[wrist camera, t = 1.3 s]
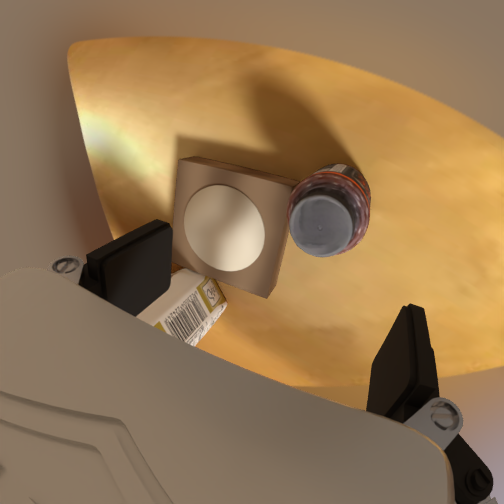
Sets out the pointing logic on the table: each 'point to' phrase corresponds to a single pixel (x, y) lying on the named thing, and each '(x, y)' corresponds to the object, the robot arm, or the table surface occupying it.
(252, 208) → the walnut stand
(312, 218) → the supplement bottle
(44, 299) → the robot arm
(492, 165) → the table surface
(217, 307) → the juice carton
